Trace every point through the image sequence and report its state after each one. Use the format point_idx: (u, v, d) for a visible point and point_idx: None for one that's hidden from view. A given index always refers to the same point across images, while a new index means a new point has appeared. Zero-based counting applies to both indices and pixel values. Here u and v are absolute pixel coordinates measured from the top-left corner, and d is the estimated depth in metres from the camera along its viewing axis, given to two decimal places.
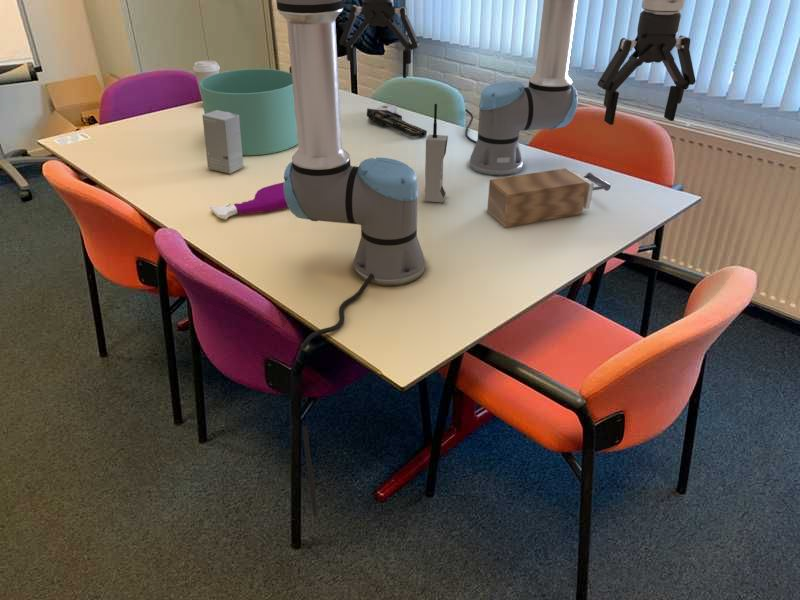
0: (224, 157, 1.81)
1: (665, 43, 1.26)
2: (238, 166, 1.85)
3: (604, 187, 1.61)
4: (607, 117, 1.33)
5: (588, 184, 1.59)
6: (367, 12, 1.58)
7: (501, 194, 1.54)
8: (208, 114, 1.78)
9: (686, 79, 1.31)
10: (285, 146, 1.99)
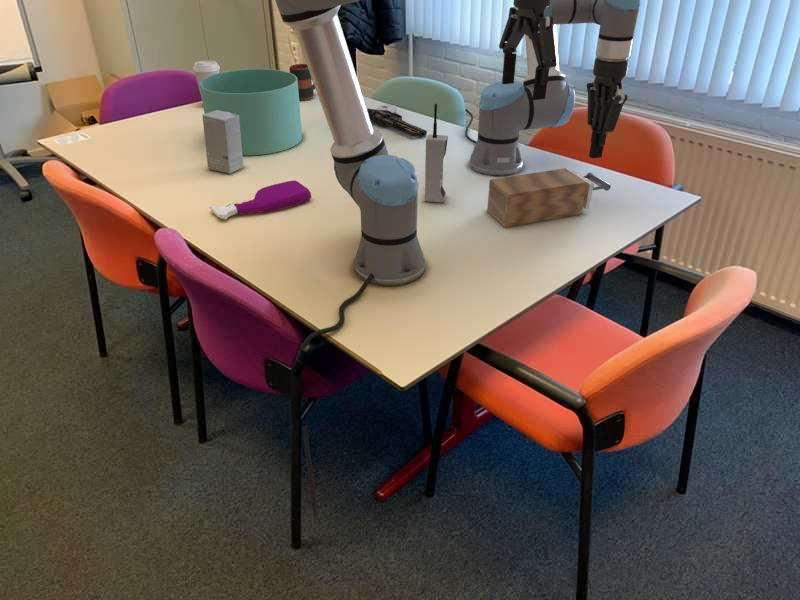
0: (224, 157, 1.81)
1: None
2: (238, 166, 1.85)
3: (604, 187, 1.61)
4: (597, 153, 1.59)
5: (588, 184, 1.59)
6: None
7: (501, 194, 1.54)
8: (208, 114, 1.78)
9: None
10: (285, 146, 1.99)
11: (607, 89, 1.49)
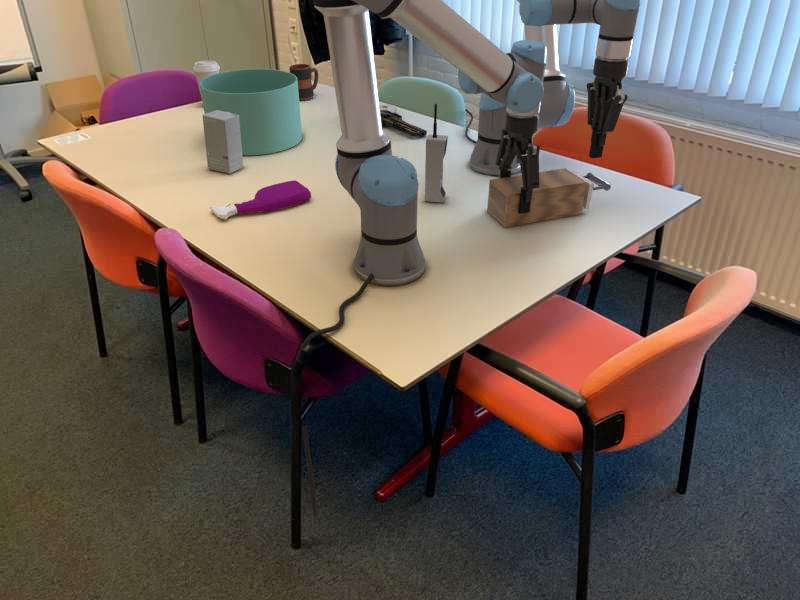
0: (224, 157, 1.81)
1: None
2: (238, 166, 1.85)
3: (604, 187, 1.61)
4: (597, 153, 1.59)
5: (588, 184, 1.59)
6: (510, 137, 1.51)
7: (501, 194, 1.54)
8: (208, 114, 1.78)
9: None
10: (285, 146, 1.99)
11: (607, 89, 1.49)
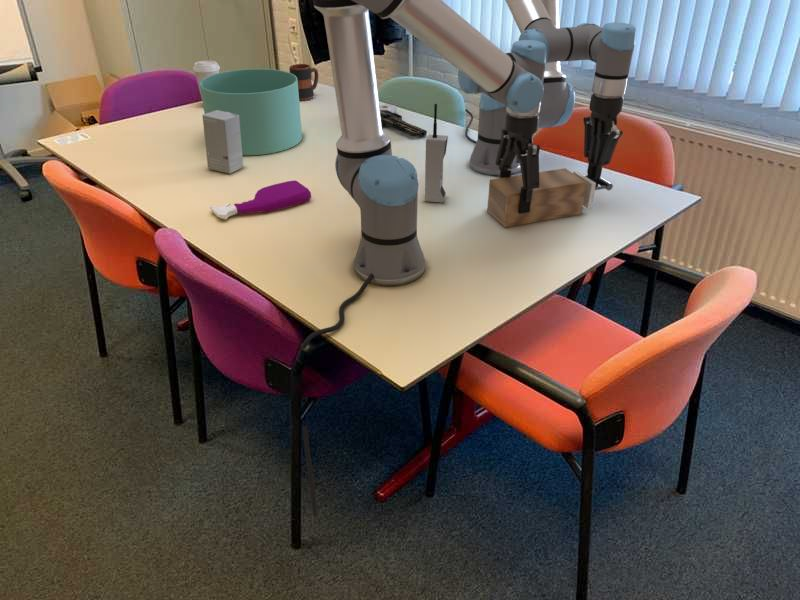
0: (224, 157, 1.81)
1: None
2: (238, 166, 1.85)
3: (606, 187, 1.61)
4: None
5: (590, 184, 1.59)
6: (510, 136, 1.51)
7: (501, 194, 1.54)
8: (208, 114, 1.78)
9: None
10: (285, 146, 1.99)
11: (603, 124, 1.53)
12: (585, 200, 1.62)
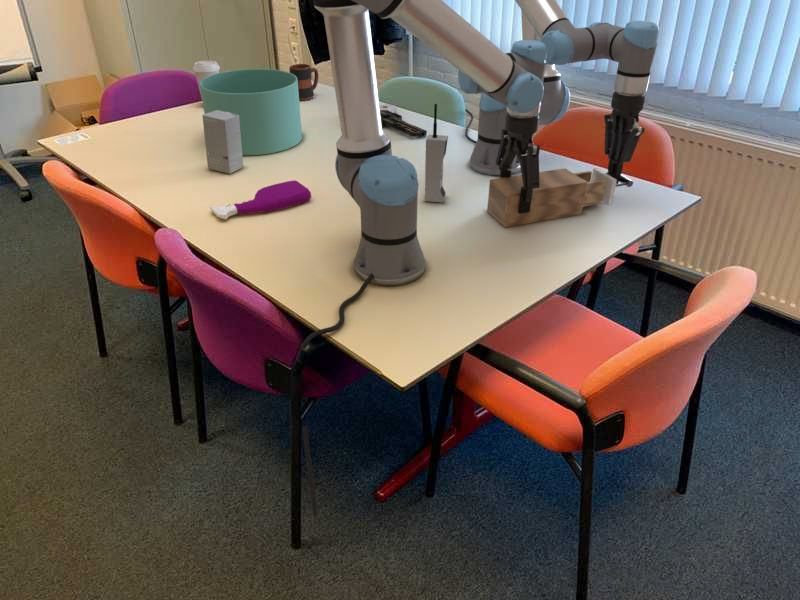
0: (224, 157, 1.81)
1: None
2: (238, 166, 1.85)
3: (627, 183, 1.63)
4: None
5: (611, 180, 1.61)
6: (510, 136, 1.51)
7: (501, 194, 1.54)
8: (208, 114, 1.78)
9: None
10: (285, 146, 1.99)
11: (625, 121, 1.55)
12: (606, 197, 1.64)
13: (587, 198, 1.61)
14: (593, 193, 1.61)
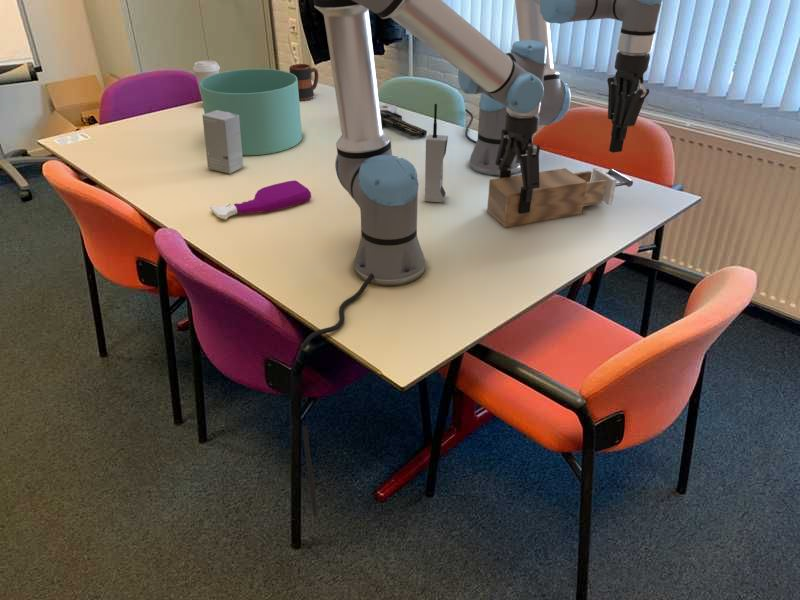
0: (224, 157, 1.81)
1: None
2: (238, 166, 1.85)
3: (626, 183, 1.63)
4: (617, 147, 1.60)
5: (611, 180, 1.61)
6: (510, 137, 1.51)
7: (501, 194, 1.54)
8: (208, 114, 1.78)
9: None
10: (285, 146, 1.99)
11: (629, 83, 1.50)
12: (605, 196, 1.64)
13: (587, 198, 1.61)
14: (593, 193, 1.61)
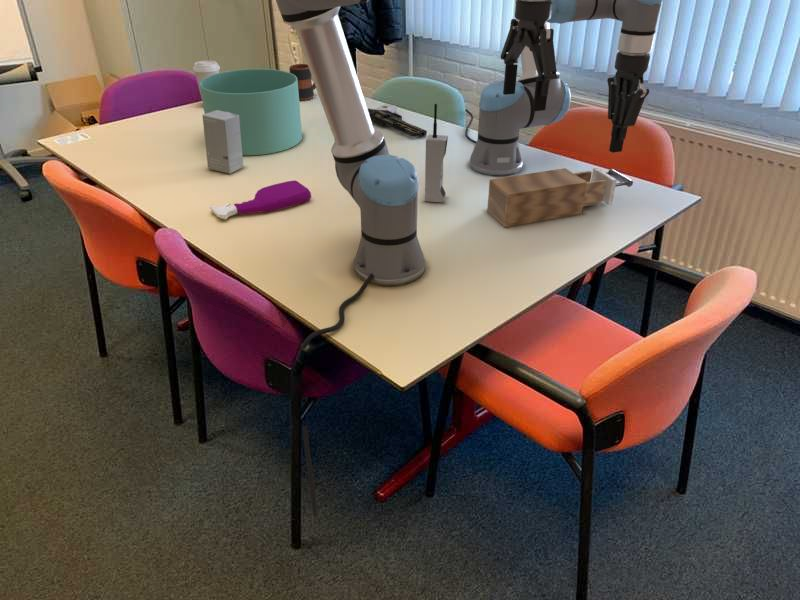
0: (224, 157, 1.81)
1: None
2: (238, 166, 1.85)
3: (626, 183, 1.63)
4: (617, 147, 1.60)
5: (611, 180, 1.61)
6: (520, 28, 1.38)
7: (501, 194, 1.54)
8: (208, 114, 1.78)
9: None
10: (285, 146, 1.99)
11: (629, 83, 1.50)
12: (605, 196, 1.64)
13: (587, 198, 1.61)
14: (593, 193, 1.61)
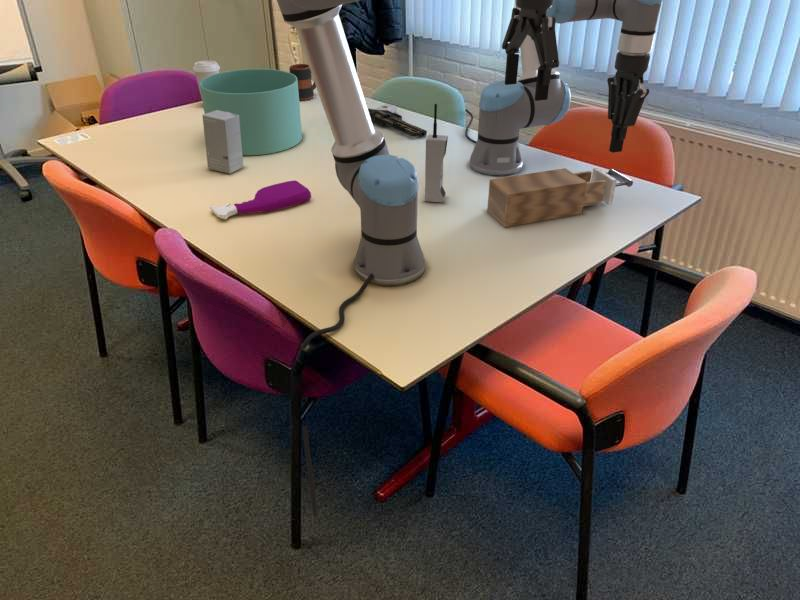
0: (224, 157, 1.81)
1: None
2: (238, 166, 1.85)
3: (626, 183, 1.63)
4: (617, 147, 1.60)
5: (611, 180, 1.61)
6: (522, 17, 1.37)
7: (501, 194, 1.54)
8: (208, 114, 1.78)
9: None
10: (285, 146, 1.99)
11: (629, 83, 1.50)
12: (605, 196, 1.64)
13: (587, 198, 1.61)
14: (593, 193, 1.61)
